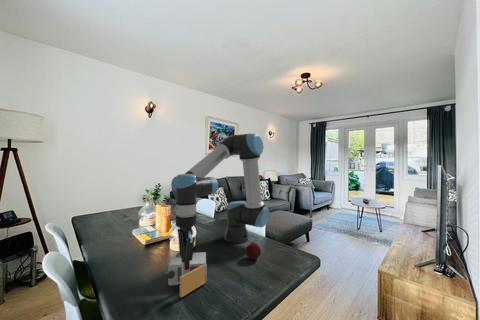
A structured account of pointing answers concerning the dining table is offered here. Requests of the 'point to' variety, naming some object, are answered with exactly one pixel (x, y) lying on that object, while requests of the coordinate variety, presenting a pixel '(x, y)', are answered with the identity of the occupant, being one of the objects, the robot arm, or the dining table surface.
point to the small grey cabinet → (176, 266)
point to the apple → (253, 251)
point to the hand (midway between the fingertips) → (185, 276)
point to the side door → (193, 280)
